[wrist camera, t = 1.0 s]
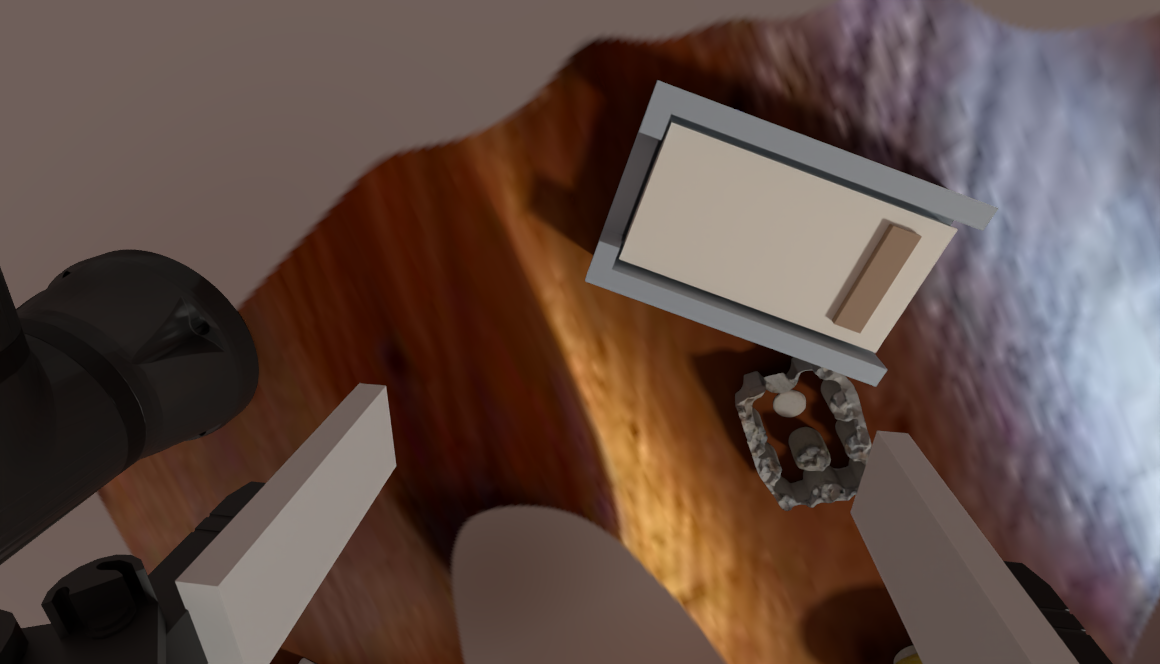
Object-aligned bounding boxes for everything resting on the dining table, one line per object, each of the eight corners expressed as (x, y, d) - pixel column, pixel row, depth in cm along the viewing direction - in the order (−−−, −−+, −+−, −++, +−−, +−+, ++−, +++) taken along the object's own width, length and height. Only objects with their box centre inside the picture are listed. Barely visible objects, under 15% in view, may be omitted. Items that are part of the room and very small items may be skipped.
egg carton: (723, 373, 39) (730, 404, 35) (834, 340, 37) (854, 369, 33) (766, 488, 42) (776, 527, 38) (868, 464, 40) (890, 503, 36)
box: (593, 255, 36) (584, 281, 31) (656, 80, 31) (657, 80, 27) (848, 348, 36) (875, 386, 32) (949, 190, 32) (998, 208, 27)
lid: (620, 250, 33) (618, 261, 31) (670, 120, 30) (672, 123, 28) (864, 339, 34) (878, 356, 32) (941, 221, 30) (962, 231, 28)
